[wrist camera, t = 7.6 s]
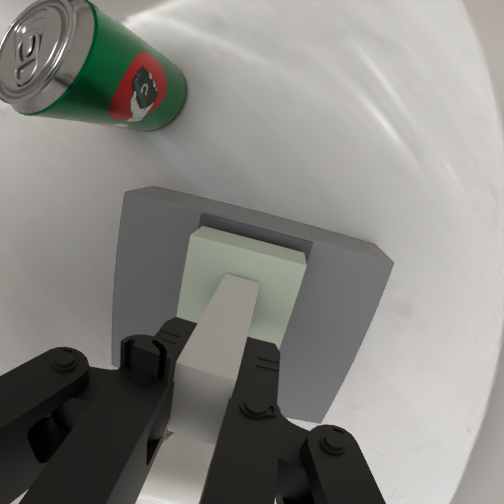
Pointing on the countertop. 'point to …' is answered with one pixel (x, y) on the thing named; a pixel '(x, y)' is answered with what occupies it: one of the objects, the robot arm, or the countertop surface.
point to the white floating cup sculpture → (177, 472)
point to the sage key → (245, 266)
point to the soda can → (86, 69)
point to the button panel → (306, 305)
